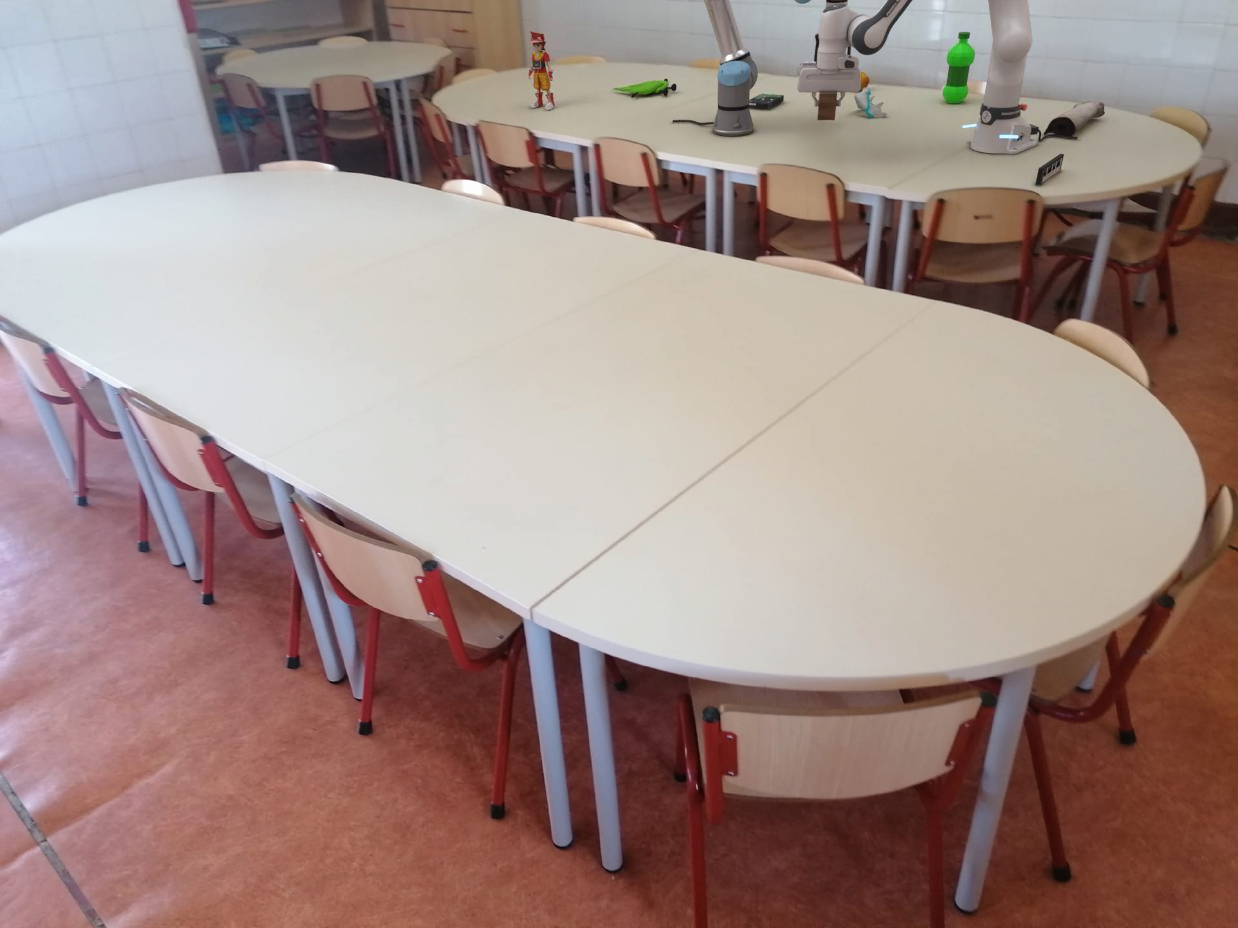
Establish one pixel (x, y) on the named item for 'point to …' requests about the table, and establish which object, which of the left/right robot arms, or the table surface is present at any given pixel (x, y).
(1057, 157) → the midi keyboard
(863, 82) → the fruit
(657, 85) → the toy
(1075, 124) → the rolled mat
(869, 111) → the anatomical model
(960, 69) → the plastic bottle
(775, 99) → the disk drive
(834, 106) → the post
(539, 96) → the toy
